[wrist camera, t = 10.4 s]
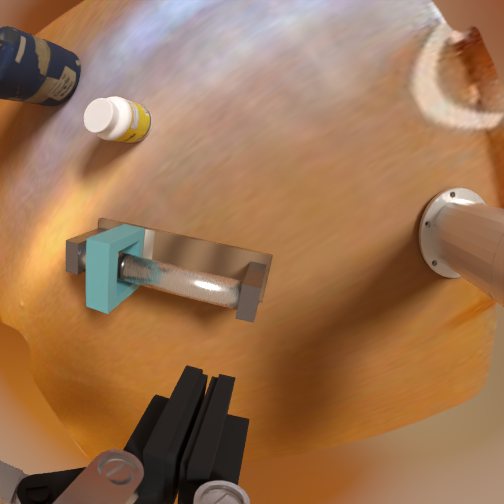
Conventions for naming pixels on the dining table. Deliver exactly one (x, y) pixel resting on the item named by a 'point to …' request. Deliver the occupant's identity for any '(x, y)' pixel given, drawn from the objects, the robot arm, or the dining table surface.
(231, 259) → the base board
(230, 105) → the dining table surface
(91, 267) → the teal rectangular frame
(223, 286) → the rail
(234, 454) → the robot arm
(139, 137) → the supplement bottle
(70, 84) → the canister
